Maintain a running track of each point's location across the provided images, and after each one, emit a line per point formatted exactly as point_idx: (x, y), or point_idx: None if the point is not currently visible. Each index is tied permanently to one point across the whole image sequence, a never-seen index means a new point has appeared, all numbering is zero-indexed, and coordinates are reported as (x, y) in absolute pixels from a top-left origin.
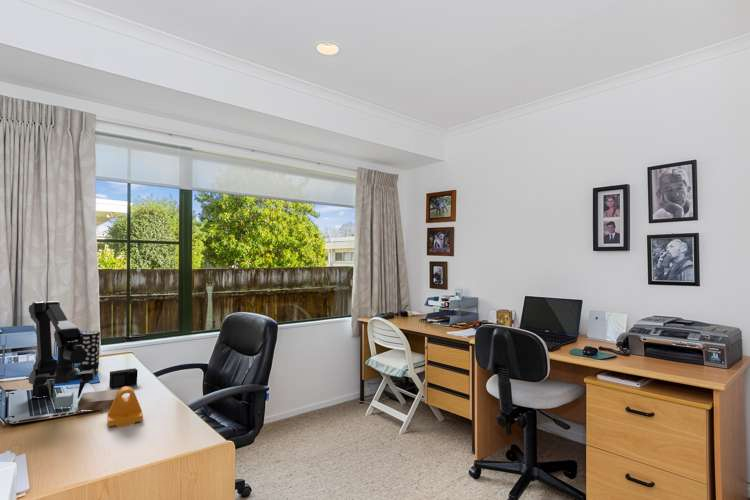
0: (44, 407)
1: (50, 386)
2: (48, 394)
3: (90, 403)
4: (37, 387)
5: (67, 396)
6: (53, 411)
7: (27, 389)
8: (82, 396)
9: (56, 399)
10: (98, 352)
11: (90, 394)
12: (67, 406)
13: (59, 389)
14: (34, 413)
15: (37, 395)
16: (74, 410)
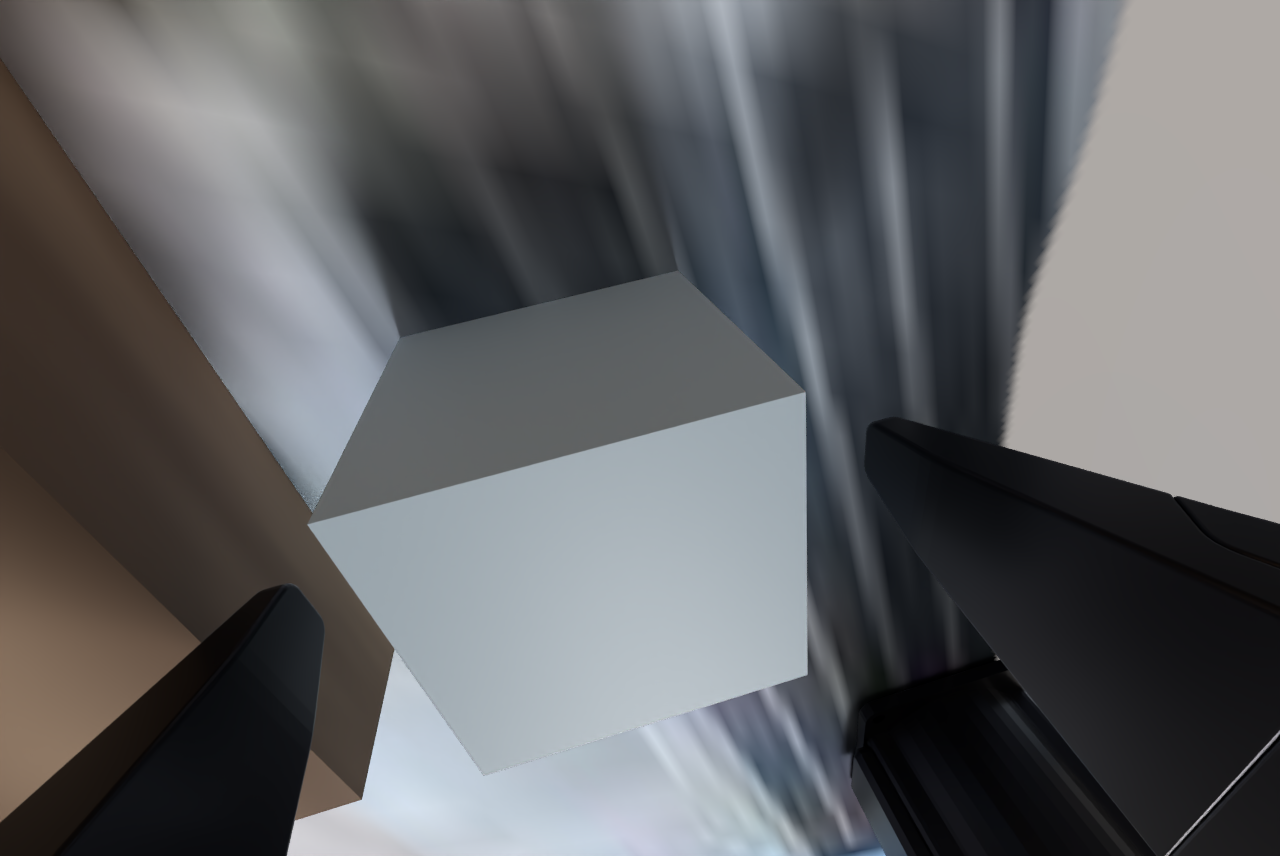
0: None
1: (1174, 845)
2: (1061, 491)
3: None
4: (1088, 814)
5: (433, 477)
6: (675, 181)
7: None
8: (159, 642)
9: (740, 368)
10: None
11: (57, 760)
12: (457, 343)
13: (821, 841)
14: (990, 116)
15: (997, 708)
16: (190, 165)
